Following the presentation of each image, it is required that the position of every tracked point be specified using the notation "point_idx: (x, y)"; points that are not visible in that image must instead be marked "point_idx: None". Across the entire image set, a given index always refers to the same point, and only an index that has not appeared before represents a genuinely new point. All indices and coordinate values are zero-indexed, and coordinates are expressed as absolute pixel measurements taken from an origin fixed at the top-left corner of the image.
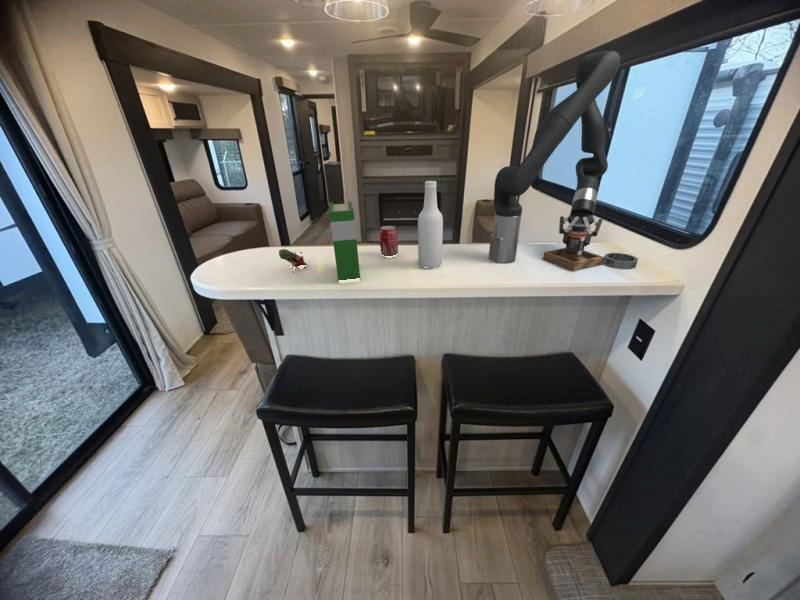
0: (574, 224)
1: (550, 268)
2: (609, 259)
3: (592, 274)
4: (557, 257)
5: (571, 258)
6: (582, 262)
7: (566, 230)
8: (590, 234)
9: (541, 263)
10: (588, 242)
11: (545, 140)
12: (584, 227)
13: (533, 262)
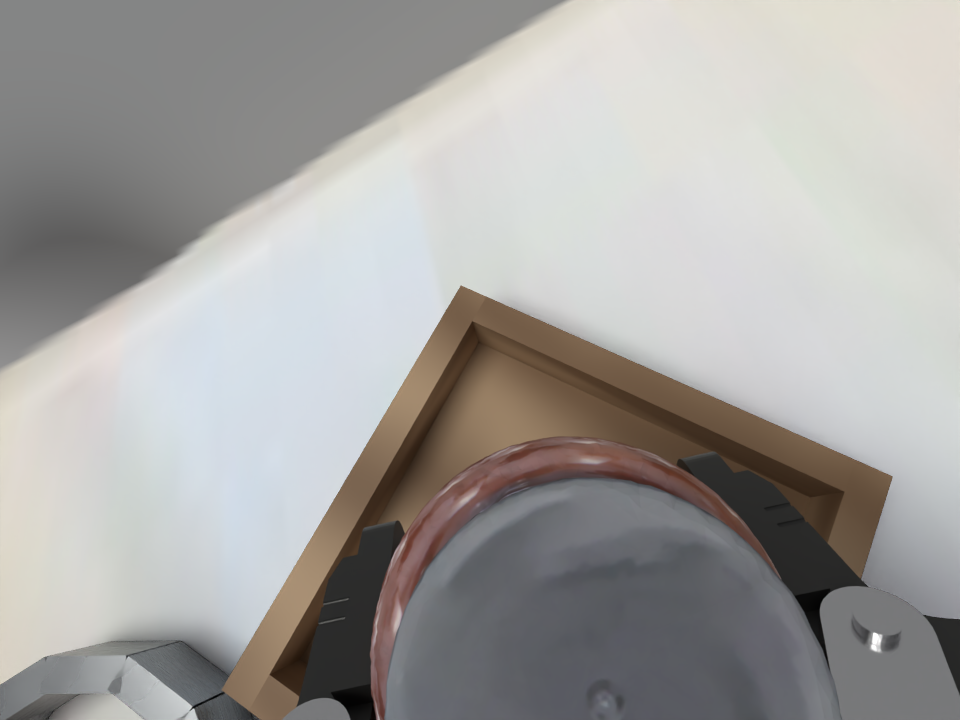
0: (796, 695)
1: (648, 285)
2: (176, 691)
3: (326, 348)
4: (665, 378)
5: None
6: (408, 382)
7: (883, 618)
8: (304, 713)
9: (776, 360)
10: (352, 562)
11: None
12: (409, 605)
13: (852, 343)
